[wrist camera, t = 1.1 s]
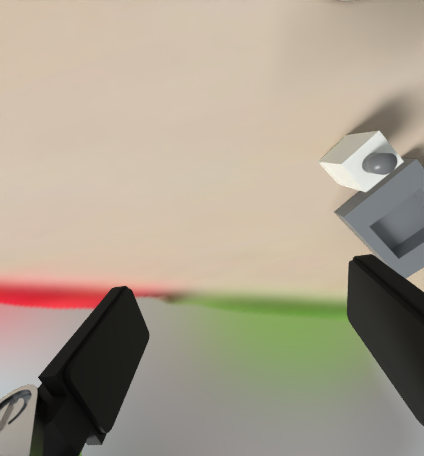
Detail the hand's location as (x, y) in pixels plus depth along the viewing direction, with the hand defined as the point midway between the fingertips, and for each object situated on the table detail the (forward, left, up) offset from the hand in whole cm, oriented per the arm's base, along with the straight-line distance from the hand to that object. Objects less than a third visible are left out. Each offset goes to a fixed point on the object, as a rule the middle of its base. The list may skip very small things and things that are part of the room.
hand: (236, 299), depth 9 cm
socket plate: (-13, +20, -22) cm, 33 cm away
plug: (-13, +8, -22) cm, 27 cm away
